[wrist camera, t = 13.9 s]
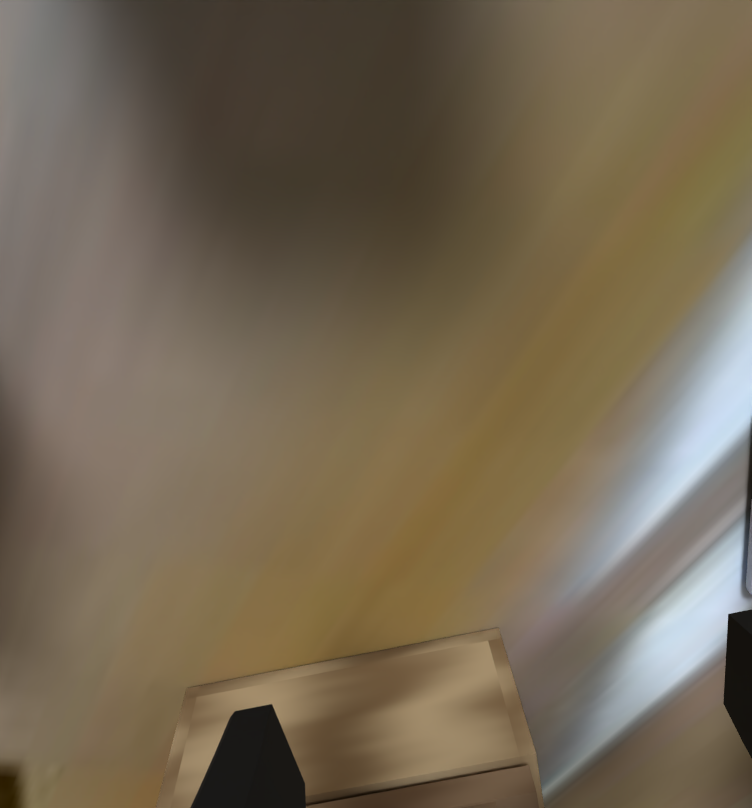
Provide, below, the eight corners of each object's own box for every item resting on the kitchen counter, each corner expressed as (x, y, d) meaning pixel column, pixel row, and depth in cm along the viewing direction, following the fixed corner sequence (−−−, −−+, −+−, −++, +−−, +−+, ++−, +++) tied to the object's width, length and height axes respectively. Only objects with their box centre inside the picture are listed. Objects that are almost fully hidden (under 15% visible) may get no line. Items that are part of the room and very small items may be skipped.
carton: (498, 627, 23) (536, 753, 19) (523, 777, 27) (559, 910, 23) (186, 688, 24) (151, 824, 20) (255, 826, 28) (238, 966, 23)
